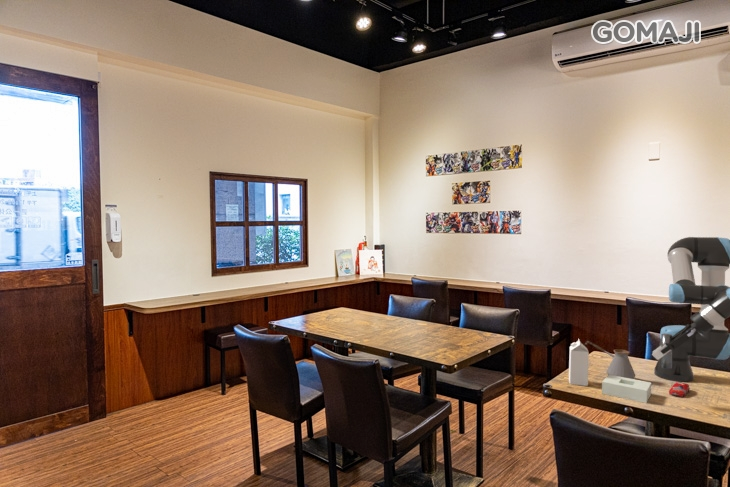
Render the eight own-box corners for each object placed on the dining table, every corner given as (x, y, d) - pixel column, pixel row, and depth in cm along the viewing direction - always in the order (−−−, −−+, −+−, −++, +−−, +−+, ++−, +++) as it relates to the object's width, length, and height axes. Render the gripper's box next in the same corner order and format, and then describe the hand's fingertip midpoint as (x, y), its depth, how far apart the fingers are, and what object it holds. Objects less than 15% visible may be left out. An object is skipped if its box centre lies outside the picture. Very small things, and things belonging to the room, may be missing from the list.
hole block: (601, 393, 196) (602, 381, 196) (608, 385, 206) (608, 374, 205) (646, 403, 186) (646, 390, 186) (651, 394, 196) (651, 382, 195)
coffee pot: (638, 379, 214) (639, 346, 214) (630, 385, 206) (631, 351, 205) (589, 368, 229) (590, 338, 229) (580, 374, 221) (581, 342, 220)
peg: (664, 365, 190) (664, 333, 189) (673, 367, 187) (674, 335, 186) (659, 366, 188) (659, 334, 188) (668, 369, 185) (668, 336, 185)
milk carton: (585, 381, 211) (587, 339, 210) (587, 386, 205) (589, 343, 204) (568, 379, 214) (569, 337, 213) (569, 384, 207) (571, 341, 206)
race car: (682, 399, 191) (682, 389, 191) (667, 395, 195) (667, 386, 195) (691, 391, 200) (692, 382, 200) (676, 388, 204) (677, 378, 204)
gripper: (716, 330, 172) (662, 368, 181) (713, 322, 185) (663, 358, 195) (699, 314, 174) (646, 353, 184) (697, 307, 188) (648, 343, 198)
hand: (655, 355), depth 190 cm, fingers closed on peg, 3 cm apart
